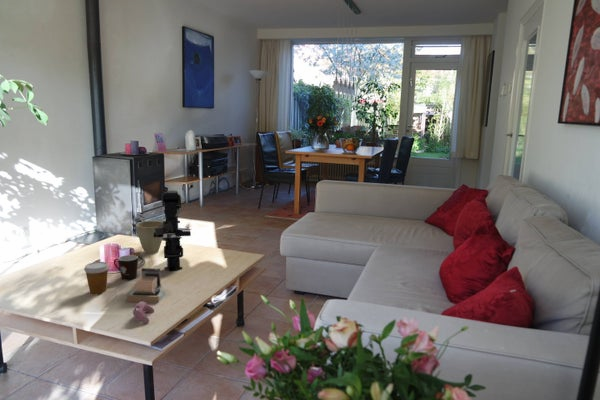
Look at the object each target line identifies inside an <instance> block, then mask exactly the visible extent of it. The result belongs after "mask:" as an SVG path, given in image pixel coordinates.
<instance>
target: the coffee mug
mask: <svg viewBox="0 0 600 400" xmlns="http://www.w3.org/2000/svg"><path fill="white" fill-rule="evenodd" d="M116 261H118V264H117V263H116ZM138 263H139V256H138V255H135V254H125V255H122V256H119V257H118V258H115V259H114V260H113V265H114V266H115V267H116V269H118V270H119V273H120V279H121V280H123V281H131V280H135V279H136V278H137V274H138Z"/></svg>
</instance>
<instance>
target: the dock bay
mask: <svg viewBox="0 0 600 400" xmlns="http://www.w3.org/2000/svg"><path fill="white" fill-rule="evenodd" d="M136 290H137V288H134V289H133V290H132V291H130V293H129V294H126V303H139V302H145V303H147V304H152V303H153V304H159V303H160V301H161V300H162V299H163V298H164V297H165V295H166V291H165V290H164V289H163V290H160V292H159V293H157V295H155V296H150V295H134V292H135V291H136Z"/></svg>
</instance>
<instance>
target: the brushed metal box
mask: <svg viewBox="0 0 600 400" xmlns="http://www.w3.org/2000/svg"><path fill="white" fill-rule="evenodd" d="M135 281H136V285H135V286H136V289H137V290H136V291H135V292H134V295H148V296H156V294H159V293H160V292H161V288H162V284H161V283H162V282H161V268H151V267H149V268H148V267H142V268H141V276H140V277H139V278H138V279H137V280H135Z"/></svg>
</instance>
